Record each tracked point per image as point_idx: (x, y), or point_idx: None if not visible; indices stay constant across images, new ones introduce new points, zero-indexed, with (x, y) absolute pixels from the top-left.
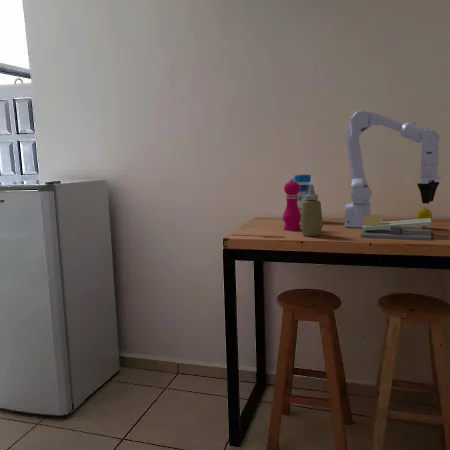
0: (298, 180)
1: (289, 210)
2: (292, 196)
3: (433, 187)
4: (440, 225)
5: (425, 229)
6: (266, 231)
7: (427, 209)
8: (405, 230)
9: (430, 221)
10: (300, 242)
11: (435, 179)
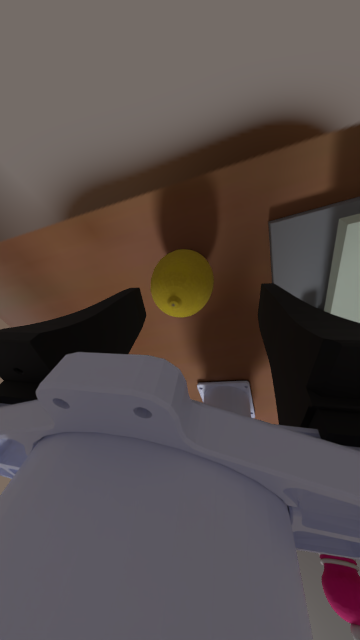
0: None
1: None
2: (356, 564)
3: (319, 329)
4: (92, 231)
5: (279, 241)
6: None
7: (181, 285)
8: (324, 298)
9: None
10: None
11: (237, 414)
